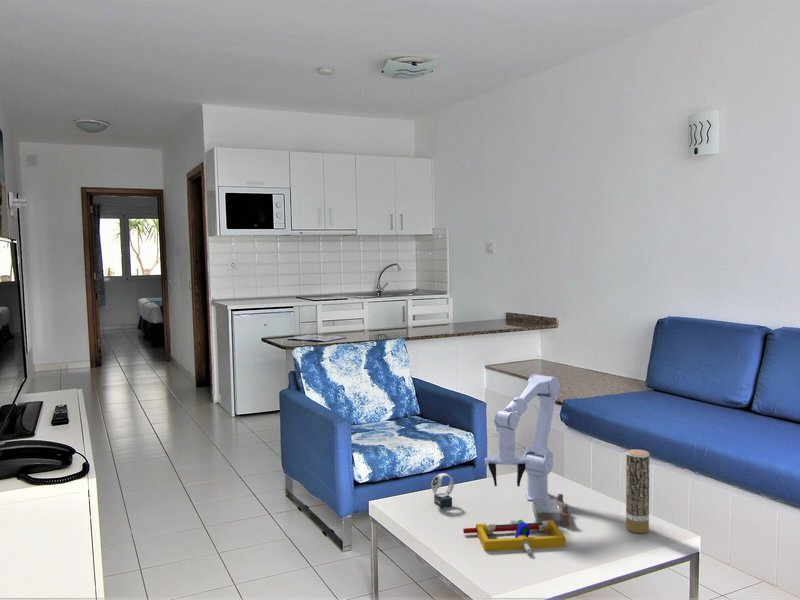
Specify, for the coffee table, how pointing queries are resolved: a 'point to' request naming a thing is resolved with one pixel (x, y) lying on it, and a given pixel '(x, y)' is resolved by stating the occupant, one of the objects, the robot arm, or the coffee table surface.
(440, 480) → the watch
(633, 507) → the brown bark patterned canister
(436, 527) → the coffee table surface
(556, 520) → the grey metal block
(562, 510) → the bench stop
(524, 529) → the mechanical clamp
